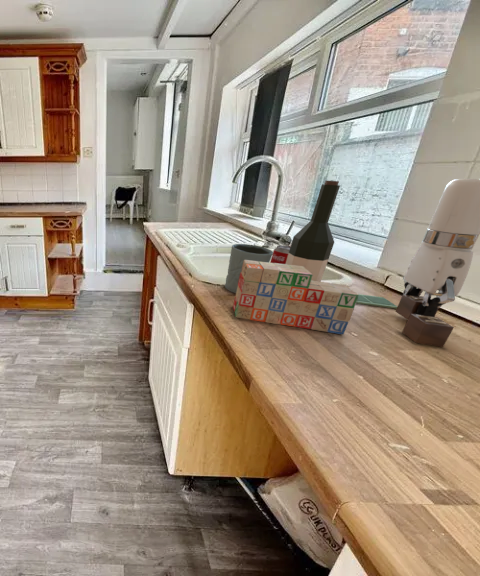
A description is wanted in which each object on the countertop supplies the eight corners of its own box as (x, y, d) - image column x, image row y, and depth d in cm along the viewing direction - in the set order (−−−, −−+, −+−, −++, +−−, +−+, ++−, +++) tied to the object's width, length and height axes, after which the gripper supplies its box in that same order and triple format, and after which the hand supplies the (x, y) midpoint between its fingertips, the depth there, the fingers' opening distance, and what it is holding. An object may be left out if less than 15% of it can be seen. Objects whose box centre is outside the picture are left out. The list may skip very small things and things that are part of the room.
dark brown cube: (418, 314, 74) (426, 295, 72) (431, 322, 70) (441, 303, 68) (395, 311, 75) (403, 293, 73) (407, 319, 71) (416, 300, 69)
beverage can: (269, 282, 93) (279, 244, 89) (289, 288, 89) (302, 248, 85) (260, 286, 90) (271, 246, 85) (281, 292, 86) (293, 251, 81)
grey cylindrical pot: (229, 280, 93) (238, 242, 88) (265, 289, 87) (276, 249, 83) (217, 289, 86) (226, 247, 81) (256, 300, 80) (268, 255, 75)
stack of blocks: (332, 322, 70) (351, 271, 65) (343, 335, 64) (366, 281, 60) (232, 306, 75) (243, 258, 71) (234, 317, 70) (247, 266, 65)
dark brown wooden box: (427, 336, 66) (437, 316, 64) (443, 347, 62) (454, 326, 60) (401, 332, 67) (411, 312, 65) (415, 343, 63) (426, 322, 61)
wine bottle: (311, 300, 81) (352, 181, 70) (312, 311, 75) (358, 182, 63) (276, 293, 85) (309, 179, 74) (274, 302, 79) (310, 179, 67)
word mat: (382, 298, 85) (383, 296, 85) (398, 309, 79) (399, 307, 79) (337, 292, 88) (338, 291, 88) (349, 302, 82) (349, 300, 81)
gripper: (508, 251, 57) (462, 336, 64) (440, 234, 72) (408, 304, 79) (458, 247, 59) (418, 330, 65) (402, 231, 74) (374, 300, 81)
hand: (413, 315), depth 72 cm, fingers closed on dark brown cube, 4 cm apart
